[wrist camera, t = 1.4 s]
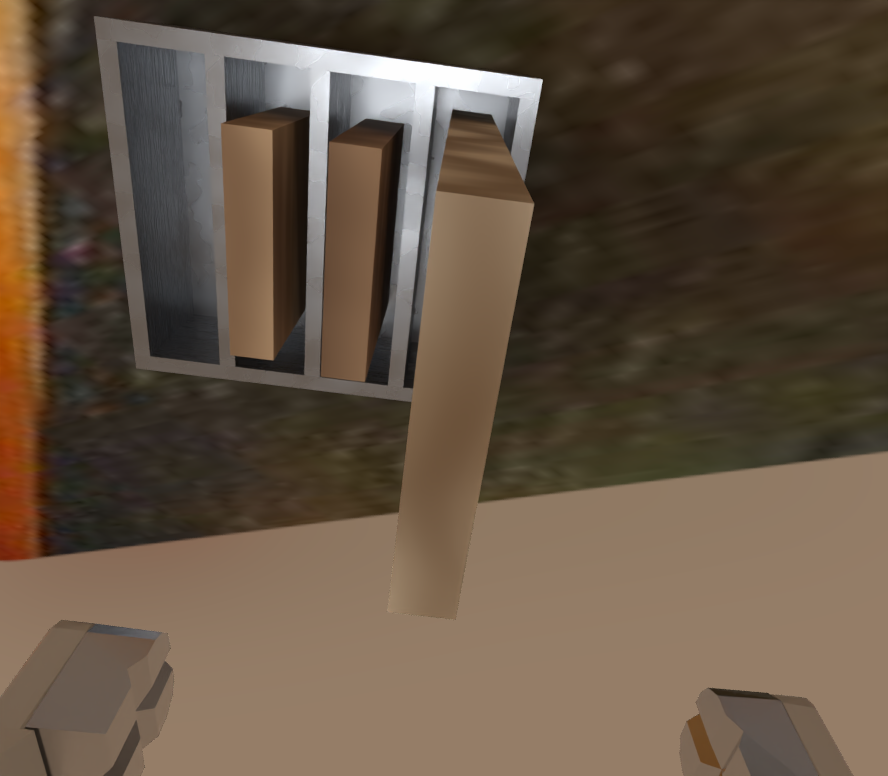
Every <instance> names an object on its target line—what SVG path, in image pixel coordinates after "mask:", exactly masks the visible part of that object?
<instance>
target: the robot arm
mask: <svg viewBox="0 0 888 776" xmlns="http://www.w3.org/2000/svg"><path fill="white" fill-rule="evenodd" d="M169 651H170V642H169V636H168V633H162V632H154V631H147V630H140V629H131V628H124V627H116V626H109V625H101V624H94V623H85V622H76V621H67V620H61V621H59V622H58V623H57V624H56V625H54V626H53V627H52V628H51V629H49V630H48V632H47V633H46V635H45V636H44V637H43V639H42V640H41V641H40V643H39V644H38V646H37V647H36V648H35V650H34V651H33V652H32V654H31V655H30V657H29V658H28V659H27V661H26V662H25V664H24V665H23V667H22V668H21V669H20V671H19V672H18V673H17V675H16V676H15V678H14V679H13V680H12V682H11V683H10V684H9V686H8V687H7V689H6V690H5V691H4V693H3V694H2V695H1V697H0V776H141V774H142V772H143V770H144V768H145V765H144V758H143V751H142V749H143V748H144V747H145V746H147V745H148V744H149V743H150V742H152V741H153V740H154V739H155V738H157V737H158V736H159V734H160V731H161V729H162V726H163V724H164V722H165V720H166V717H167V714H168V710H169V707H170V703H171V699H172V695H173V686H174V674H173V668H172V667H170V666H169V664H168V663H167V662H165V659H166V657H167V655H168V653H169ZM696 704H697V707H698V710H699V714H698V715H696V716H694V717H693V718H691V719H689V720H688V721H686V724H685V726H684V729H683V731H682V733H681V738H680V759H681V766H682V771H683V775H684V776H853V774H852V773H851V771H850V769H849V767H848V765H847V764H846V762H845V760H844V758H843V756H842V754H841V753H840V751H839V749H838V747H837V745H836V744H835V742H834V740H833V738H832V736H831V735H830V733H829V731H828V729H827V728H826V726H825V724H824V722H823V720H822V719H821V717H820V715H819V713H818V711H817V710H816V708H815V706H814V705H813V704H812V703H811V702H810V701H809V700H808V699H807V698H802V697H794V696H783V695H770V694H769V693H761V692H750V691H739V690H726V689H715V688H707V689H705V690H704V691H702V692H701V693H700V695H699V697H698V699H697V701H696Z"/></svg>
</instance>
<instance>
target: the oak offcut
mask: <svg viewBox="0 0 888 776" xmlns="http://www.w3.org/2000/svg"><path fill="white" fill-rule="evenodd" d="M309 136H310V111H309V110H301V109H294V108H287V107H278V108H274V109H270V110H267V111H263V112H260V113H256V114H252V115H249V116H245V117H241V118H238V119H234V120H230V121H227V122H223V123H221V141H222V166H223V191H224V215H225V240H226V264H227V289H228V314H229V338H230V355H233V356H241V357H250V358H258V359H266V360H274V359H275V357H276V356H277V354H278V352H279V351H280V349H281V348H282V346H283V344H284V343H285V341H286V340H287V338H288V336H289V335H290V333H291V332H292V330H293V328H294V327H295V325H296V324H297V322H298V320H299V319H300V317H301V316H302V314H303V312H304V311H305V309H306V275H307V229H308V183H309Z"/></svg>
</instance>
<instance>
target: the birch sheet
mask: <svg viewBox="0 0 888 776" xmlns="http://www.w3.org/2000/svg"><path fill="white" fill-rule="evenodd" d="M533 208H534V202H533V200H532V198H531V196H530V194H529V192H528V190H527V188H526V186H525V184H524V182H523V179H522V177H521V175H520V173H519V171H518V169H517V167H516V165H515V163H514V161H513V159H512V157H511V155H510V152H509V150H508V148H507V146H506V144H505V142H504V140H503V138H502V136H501V134H500V132H499V130H498V127H497V125H496V123H495V121H494V119H493V117H492V115H491V114H484V113H477V112H470V111H462V110H455V109H453V110H452V115H451V120H450V125H449V130H448V135H447V139H446V144H445V149H444V154H443V159H442V164H441V169H440V174H439V179H438V184H437V189H436V196H435V205H434V213H433V222H432V231H431V239H430V248H429V257H428V265H427V274H426V283H425V291H424V300H423V308H422V317H421V326H420V334H419V343H418V352H417V360H416V369H415V378H414V386H413V395H412V404H411V412H410V421H409V430H408V438H407V447H406V456H405V464H404V473H403V482H402V490H401V499H400V508H399V516H398V525H397V534H396V543H395V551H394V560H393V568H392V577H391V585H390V595H389V604H388V612H392V613H400V614H409V615H419V616H428V617H436V618H445V619H454V620H455V619H456V614H457V609H458V604H459V598H460V593H461V588H462V583H463V577H464V572H465V567H466V562H467V556H468V551H469V545H470V540H471V535H472V530H473V524H474V519H475V514H476V508H477V503H478V498H479V493H480V488H481V482H482V477H483V472H484V467H485V461H486V456H487V451H488V445H489V440H490V435H491V430H492V424H493V419H494V414H495V408H496V403H497V398H498V393H499V387H500V382H501V377H502V372H503V366H504V361H505V356H506V350H507V345H508V340H509V335H510V329H511V324H512V319H513V313H514V308H515V303H516V298H517V292H518V287H519V282H520V277H521V271H522V266H523V261H524V255H525V250H526V245H527V240H528V234H529V229H530V224H531V218H532V213H533Z"/></svg>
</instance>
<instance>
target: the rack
mask: <svg viewBox="0 0 888 776" xmlns="http://www.w3.org/2000/svg"><path fill="white" fill-rule="evenodd" d="M94 21H95V29H96V37H97V45H98V54H99V62H100V70H101V79H102V87H103V95H104V104H105V112H106V120H107V129H108V137H109V145H110V153H111V162H112V170H113V178H114V187H115V195H116V203H117V212H118V220H119V228H120V236H121V245H122V253H123V261H124V270H125V278H126V286H127V295H128V303H129V311H130V320H131V328H132V336H133V344H134V353H135V361H136V368H139V369H147V370H155V371H164V372H172V373H180V374H188V375H196V376H204V377H213V378H221V379H229V380H237V381H245V382H253V383H262V384H270V385H278V386H286V387H294V388H303V389H311V390H319V391H327V392H335V393H343V394H352V395H360V396H368V397H376V398H384V399H392V400H401V401H409V402H412V395H413V386H414V378H415V369H416V360H417V352H418V343H419V334H420V326H421V317H422V308H423V300H424V291H425V283H426V274H427V265H428V257H429V248H430V239H431V231H432V222H433V213H434V205H435V196H436V189H437V184H438V179H439V174H440V169H441V164H442V159H443V154H444V149H445V144H446V139H447V135H448V130H449V125H450V120H451V115H452V110H453V109H455V110H462V111H470V112H477V113H484V114H491V115H492V117H493V119H494V121H495V123H496V125H497V127H498V130H499V132H500V134H501V136H502V138H503V140H504V142H505V144H506V146H507V148H508V150H509V152H510V155H511V157H512V159H513V161H514V163H515V165H516V167H517V169H518V171H519V173H520V175H521V177H522V179H523V182H525V176H526V171H527V165H528V160H529V154H530V149H531V143H532V137H533V132H534V126H535V121H536V115H537V110H538V104H539V98H540V93H541V87H542V82H543V79H539V78H536V77H532V76H529V75H524V74H517V73H510V72H503V71H496V70H489V69H482V68H474V67H467V66H460V65H453V64H446V63H439V62H432V61H425V60H418V59H411V58H404V57H397V56H390V55H383V54H375V53H368V52H361V51H354V50H347V49H340V48H333V47H326V46H319V45H312V44H305V43H298V42H291V41H283V40H276V39H269V38H262V37H255V36H248V35H241V34H234V33H227V32H220V31H213V30H206V29H199V28H192V27H184V26H177V25H170V24H161V23H152V22H143V21H134V20H124V19H115V18H106V17H97V16H94ZM278 107H287V108H294V109H301V110H309V111H310V136H309V183H308V229H307V275H306V309H305V311H304V312H303V314H302V316H301V317H300V319H299V320H298V322H297V324H296V325H295V327H294V328H293V330H292V332H291V333H290V335H289V336H288V338H287V340H286V341H285V343H284V344H283V346H282V348H281V349H280V351H279V352H278V354H277V356H276V357H275V359H274V360H266V359H258V358H250V357H241V356H233V355H230V338H229V314H228V289H227V264H226V240H225V215H224V191H223V166H222V141H221V123H223V122H227V121H230V120H234V119H238V118H241V117H245V116H249V115H252V114H256V113H260V112H263V111H267V110H270V109H274V108H278ZM366 118H367V119H374V120H381V121H388V122H396V123H403V124H404V132H403V144H402V155H401V166H400V178H399V189H398V201H397V212H396V223H395V235H394V246H393V257H392V269H391V280H390V292H389V303H388V307H387V311H386V314H385V317H384V321H383V324H382V327H381V330H380V334H379V337H378V340H377V344H376V347H375V350H374V354H373V357H372V360H371V364H370V367H369V370H368V374H367V377H366V380H365V382H361V381H353V380H344V379H336V378H328V377H321V356H322V328H323V300H324V272H325V244H326V216H327V188H328V160H329V141H331V140H333V139H334V138H336V137H337V136H339V135H340V134H342V133H344V132H345V131H347V130H348V129H350V128H351V127H353V126H355V125H356V124H358V123H359V122H361V121H363V120H364V119H366Z"/></svg>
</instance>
